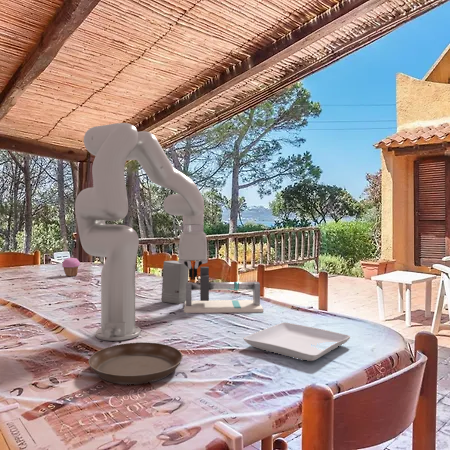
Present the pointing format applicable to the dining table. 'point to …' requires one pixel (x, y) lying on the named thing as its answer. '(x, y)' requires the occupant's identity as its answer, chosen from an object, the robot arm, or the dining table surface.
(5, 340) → the dining table surface
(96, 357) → the plant saucer
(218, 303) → the board
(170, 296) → the skincare box
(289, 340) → the salad plate
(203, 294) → the collar
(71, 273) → the cupcake
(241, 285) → the rail
